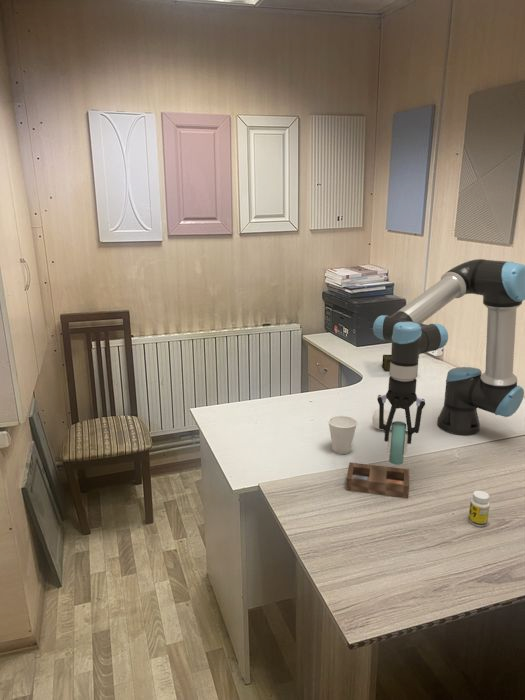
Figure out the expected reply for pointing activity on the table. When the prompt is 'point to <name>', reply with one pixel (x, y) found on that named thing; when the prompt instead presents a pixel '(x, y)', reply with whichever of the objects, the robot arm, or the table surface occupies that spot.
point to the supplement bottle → (479, 508)
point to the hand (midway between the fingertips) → (396, 451)
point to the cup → (342, 433)
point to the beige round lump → (376, 418)
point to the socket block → (378, 480)
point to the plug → (397, 442)
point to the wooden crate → (386, 363)
